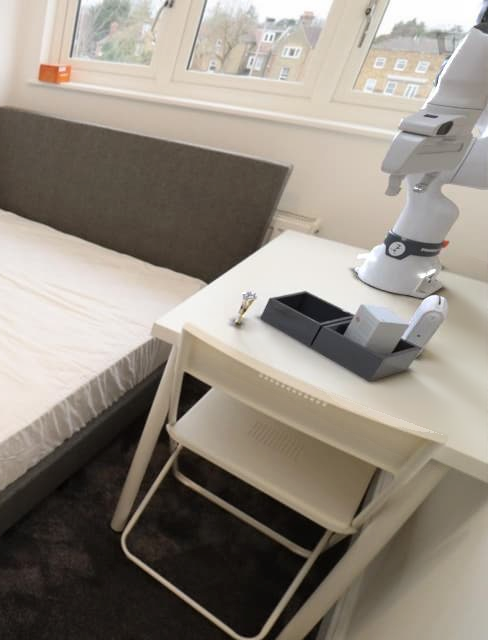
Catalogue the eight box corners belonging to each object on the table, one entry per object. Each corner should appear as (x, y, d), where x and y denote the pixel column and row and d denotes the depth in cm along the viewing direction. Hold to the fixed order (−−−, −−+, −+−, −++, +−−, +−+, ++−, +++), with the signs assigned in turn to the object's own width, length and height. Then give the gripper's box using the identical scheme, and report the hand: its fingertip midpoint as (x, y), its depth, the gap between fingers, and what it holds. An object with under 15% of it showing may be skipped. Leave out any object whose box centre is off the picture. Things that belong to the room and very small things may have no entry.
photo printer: (418, 360, 111) (453, 311, 103) (394, 352, 113) (427, 303, 106) (420, 342, 117) (453, 294, 110) (397, 335, 119) (429, 288, 112)
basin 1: (295, 310, 127) (305, 290, 124) (345, 337, 117) (358, 316, 114) (259, 318, 123) (269, 298, 120) (308, 346, 113) (320, 325, 110)
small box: (382, 367, 106) (411, 325, 100) (353, 364, 107) (380, 321, 101) (363, 347, 113) (389, 306, 107) (337, 344, 113) (361, 302, 107)
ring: (240, 330, 117) (254, 300, 113) (226, 325, 119) (239, 295, 115) (248, 319, 122) (262, 290, 117) (235, 315, 124) (247, 285, 119)
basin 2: (347, 338, 117) (359, 317, 114) (407, 369, 107) (422, 347, 104) (310, 347, 113) (322, 326, 109) (369, 381, 103) (384, 358, 100)
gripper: (458, 118, 103) (418, 186, 111) (395, 120, 96) (358, 192, 104) (494, 124, 99) (450, 195, 107) (432, 126, 92) (390, 202, 100)
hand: (404, 193), depth 105 cm, fingers open, 8 cm apart
